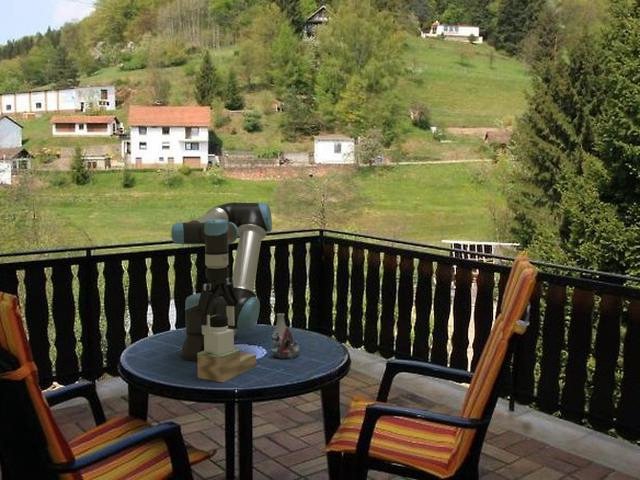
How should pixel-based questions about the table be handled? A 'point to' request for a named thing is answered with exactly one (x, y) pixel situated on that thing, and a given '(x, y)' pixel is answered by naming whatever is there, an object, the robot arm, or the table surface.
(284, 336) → the red grey figurine
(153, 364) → the table surface
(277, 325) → the flask
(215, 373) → the stepped stand
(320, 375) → the table surface
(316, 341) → the table surface
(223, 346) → the medicine bottle
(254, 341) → the table surface
